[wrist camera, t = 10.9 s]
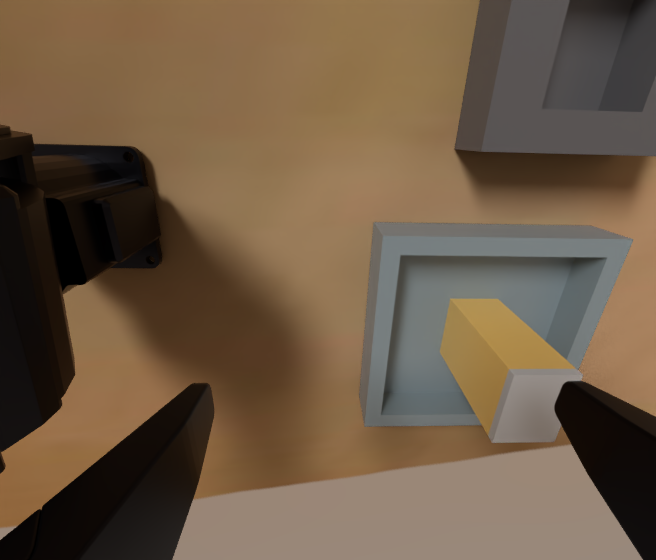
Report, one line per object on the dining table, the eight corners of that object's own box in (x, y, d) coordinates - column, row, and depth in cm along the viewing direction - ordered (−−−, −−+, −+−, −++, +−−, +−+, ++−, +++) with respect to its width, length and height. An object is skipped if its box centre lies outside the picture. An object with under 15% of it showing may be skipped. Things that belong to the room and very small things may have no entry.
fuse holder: (454, 149, 17) (481, 151, 14) (494, -83, 13) (539, -139, 11) (617, 153, 18) (673, 156, 15) (698, -72, 14) (792, -122, 11)
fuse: (439, 351, 22) (492, 442, 15) (450, 298, 20) (514, 375, 14) (483, 351, 22) (554, 442, 15) (497, 298, 20) (583, 375, 14)
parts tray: (359, 395, 24) (364, 426, 21) (373, 222, 19) (383, 235, 16) (530, 394, 24) (555, 424, 22) (590, 225, 19) (633, 239, 17)
